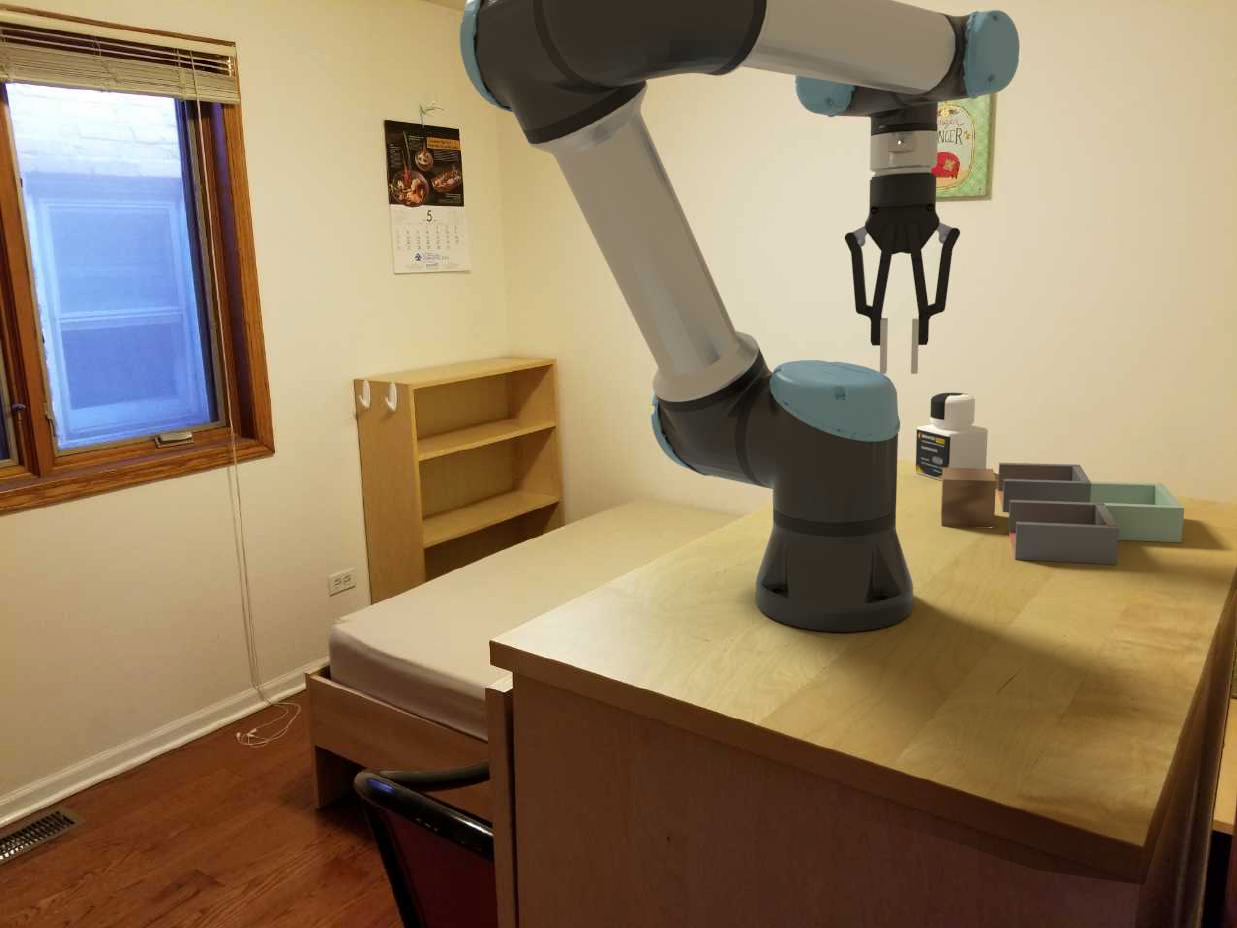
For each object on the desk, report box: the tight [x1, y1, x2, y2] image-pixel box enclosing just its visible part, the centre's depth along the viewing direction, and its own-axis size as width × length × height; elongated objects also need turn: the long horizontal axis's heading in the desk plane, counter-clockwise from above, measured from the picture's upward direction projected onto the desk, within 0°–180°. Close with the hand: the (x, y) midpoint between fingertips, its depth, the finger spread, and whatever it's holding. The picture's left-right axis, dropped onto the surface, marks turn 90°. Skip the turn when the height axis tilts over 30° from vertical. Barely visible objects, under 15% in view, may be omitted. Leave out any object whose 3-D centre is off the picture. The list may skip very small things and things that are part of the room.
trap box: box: [997, 462, 1185, 565], centre depth 116 cm, size 18×29×4 cm, turn 163°
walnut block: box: [940, 468, 997, 529], centre depth 120 cm, size 6×6×6 cm
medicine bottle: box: [915, 392, 989, 482], centre depth 141 cm, size 7×7×12 cm
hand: (898, 371), depth 119 cm, fingers open, 3 cm apart
